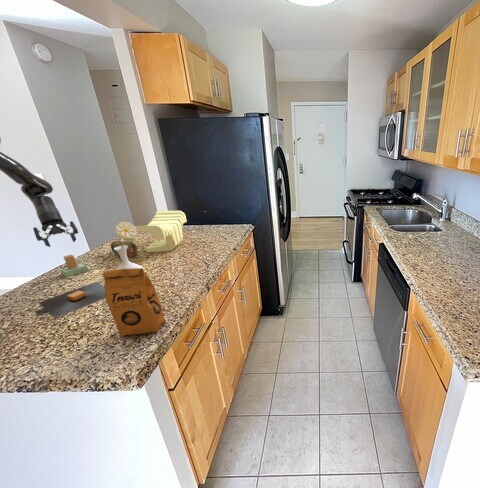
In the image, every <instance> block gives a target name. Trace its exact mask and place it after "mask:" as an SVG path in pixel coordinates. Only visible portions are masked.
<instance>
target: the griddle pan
mask: <svg viewBox="0 0 480 488" xmlns="http://www.w3.org/2000/svg"><path fill="white" fill-rule="evenodd" d="M78 290H79V291H83V292H85V293H86V296H84V297H82V298H80V299H77V300H75V301H74V300H70V299H68V298H67V295H69V294H71V293H74V292H76V291H78ZM105 295H106V293H105V284H104V285H103V284H101V283H100V282H98V281H95V282H92V283H88V284H85V285H84V286H81V287H78V288H74V289H72V290H70V291H67V292H63V293H61V294H58V295H55V296H53V297H50V298H47V299H44V300H41V301H39V302H38V304H39V305H40V306H41V307H42V308H40V309H37V310H35V311H34V313H36V315H37V316H39V317H41V316H43V315H45V314H47V313H49V314H50V315H51V316H52V317H53V319H57V318H60V317H63V316H65V315H68V314H70V313H72V312H75V311H77V310H79V309H83V308H84V307H87V306H89V305H92V304H94V303H97V302H99V301H102V300H104V299H105V298H106V296H105Z"/></svg>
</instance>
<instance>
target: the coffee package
mask: <svg viewBox="0 0 480 488" xmlns="http://www.w3.org/2000/svg"><path fill="white" fill-rule="evenodd" d="M102 277H103V278H104V285H105V293H106V295H105V296H106V298H104V299H105V302H106V304H107V306H108V309H109V312H110V315H111V316H112V319H113V321H114V323H115V326H116V329H117V331H118V335H119V337H123V336H131V335H143V334H149V333H150V334H151V333H157V332H159V330H160V329H161V327H162V325H163V324H165V323H166V318H165V315H164V310H163V306H162V303H161V300H160V298H159V296H158V292H157V291H156V288H155V285H154V284H153V283H152V281H151V279H150V278H149V276H148V274H147V272H146V271H145V270H144V268H143V269H142V268H133V269H118V270H116V269H111V270H104V271H103V272H102Z"/></svg>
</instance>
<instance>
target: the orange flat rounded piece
mask: <svg viewBox="0 0 480 488" xmlns="http://www.w3.org/2000/svg"><path fill="white" fill-rule="evenodd" d="M84 296H86V293H85V292H83V291H79V290H78V291H76V292H74V293H71V294H69V295H67V298H68V299H70V300H74V301H75V300H77V299H80V298H82V297H84Z"/></svg>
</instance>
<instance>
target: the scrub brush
mask: <svg viewBox="0 0 480 488" xmlns="http://www.w3.org/2000/svg"><path fill="white" fill-rule="evenodd" d="M63 259H64V261H65V264H66V267H65V268H62V269H59V270H60V273H61V275H62V276H63V277H64V278H69V277H72V276H75V275H78V274H81V273H85V272H87V271H88V268H87V265H85V264H84V263H79V264H78V263H77V261H76V259H75V256H74V255H73V254H67V255H64V256H63Z"/></svg>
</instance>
